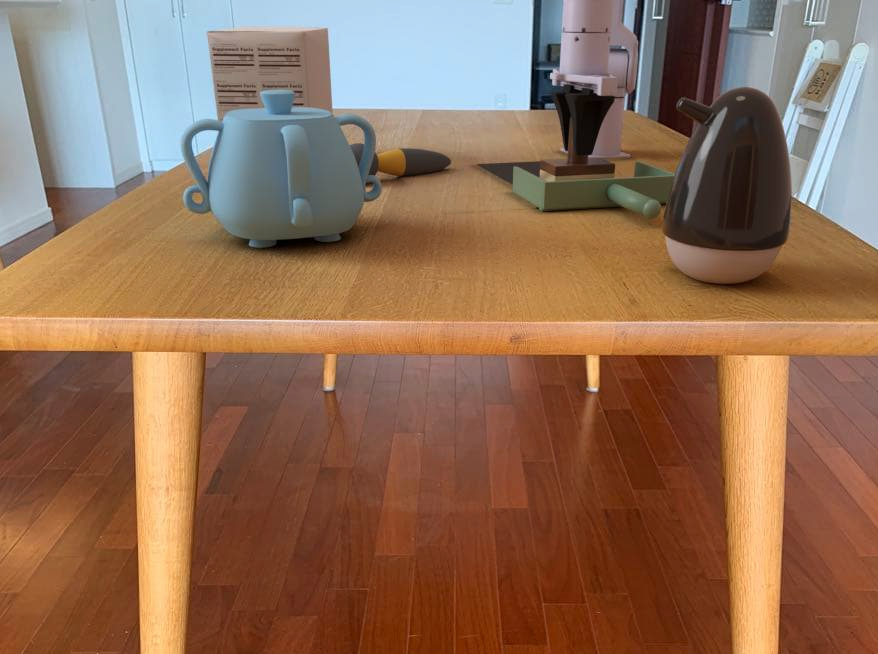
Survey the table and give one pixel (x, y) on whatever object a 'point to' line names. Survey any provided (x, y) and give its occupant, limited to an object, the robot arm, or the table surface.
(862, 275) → the table surface
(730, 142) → the pump dispenser
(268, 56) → the supplement box
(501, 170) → the mat
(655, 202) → the dustpan
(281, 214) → the decorative pot
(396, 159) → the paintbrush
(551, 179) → the brush
